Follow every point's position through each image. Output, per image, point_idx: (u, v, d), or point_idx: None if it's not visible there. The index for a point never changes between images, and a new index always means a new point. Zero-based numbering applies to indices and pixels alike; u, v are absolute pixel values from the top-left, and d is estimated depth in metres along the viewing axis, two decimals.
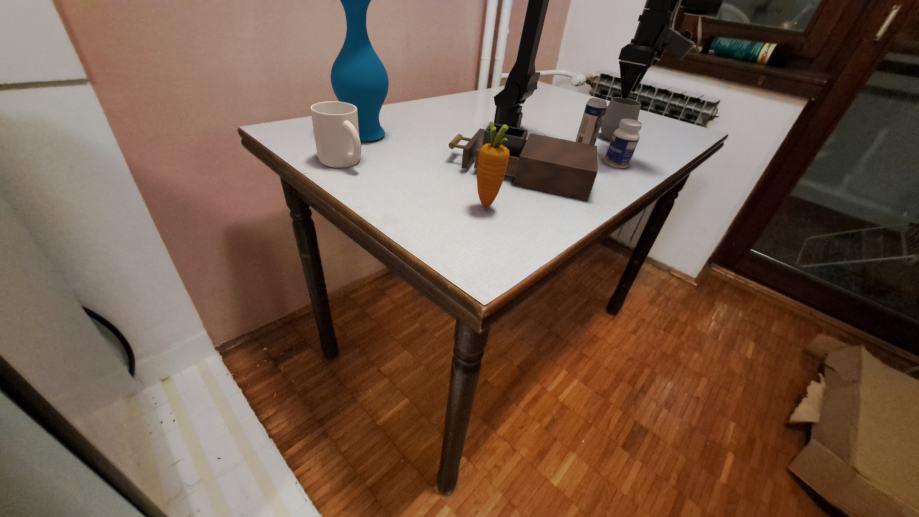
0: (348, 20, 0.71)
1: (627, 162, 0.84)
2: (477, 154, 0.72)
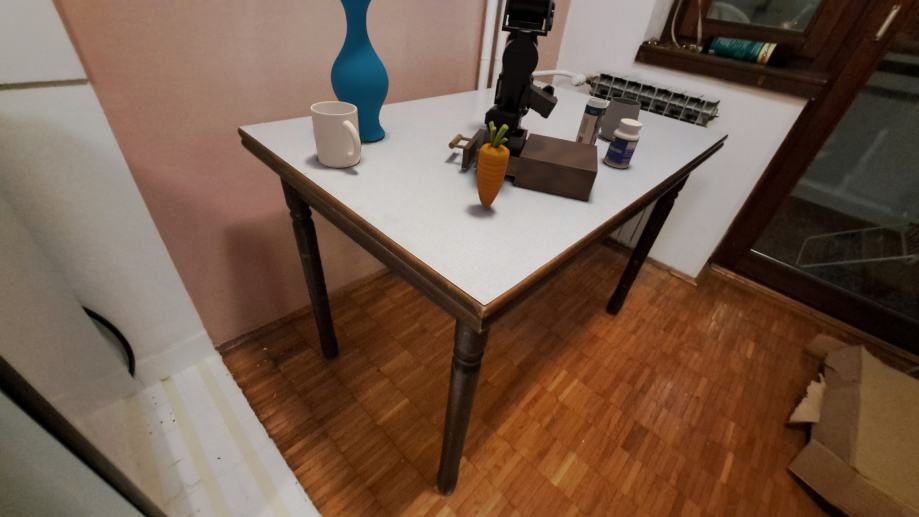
0: (348, 20, 0.71)
1: (627, 162, 0.84)
2: (477, 154, 0.72)
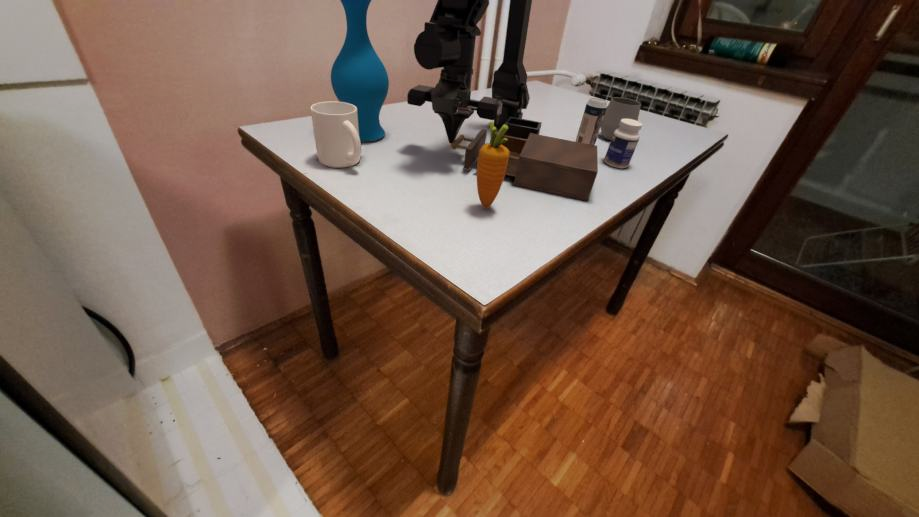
0: (348, 20, 0.71)
1: (627, 162, 0.84)
2: None
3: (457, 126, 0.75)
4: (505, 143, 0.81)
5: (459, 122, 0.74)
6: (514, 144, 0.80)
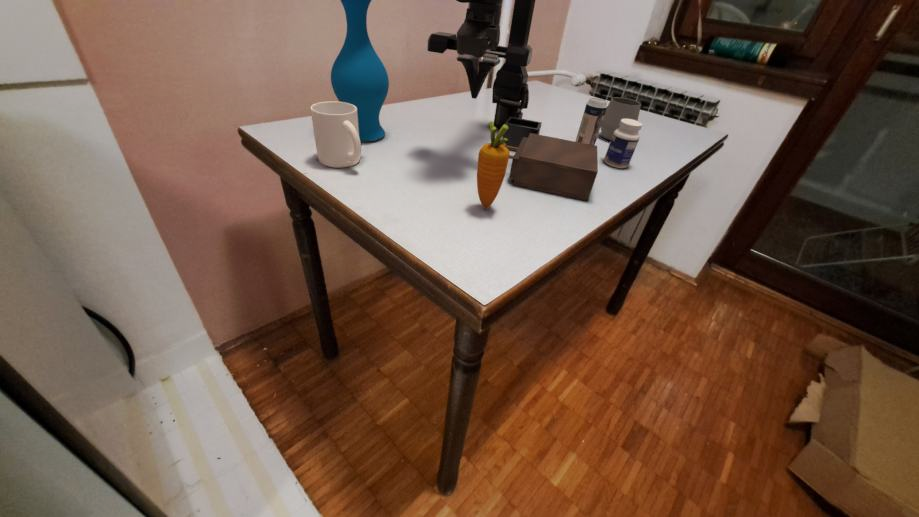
0: (348, 20, 0.71)
1: (627, 162, 0.84)
2: None
3: (482, 77, 0.68)
4: None
5: (484, 72, 0.68)
6: None
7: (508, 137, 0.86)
